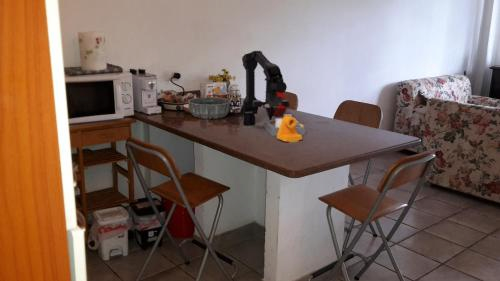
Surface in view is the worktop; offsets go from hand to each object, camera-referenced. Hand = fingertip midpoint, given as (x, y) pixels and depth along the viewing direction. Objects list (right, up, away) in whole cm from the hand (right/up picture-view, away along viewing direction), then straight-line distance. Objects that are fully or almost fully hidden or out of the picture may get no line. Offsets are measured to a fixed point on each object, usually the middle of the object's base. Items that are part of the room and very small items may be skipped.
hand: (270, 119), depth 241 cm
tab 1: (+5, -5, +2) cm, 7 cm away
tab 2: (+10, -3, +13) cm, 17 cm away
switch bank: (+8, -6, +8) cm, 13 cm away
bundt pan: (-36, +4, +42) cm, 55 cm away
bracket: (+9, -11, -10) cm, 18 cm away
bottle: (+6, +5, +51) cm, 52 cm away
